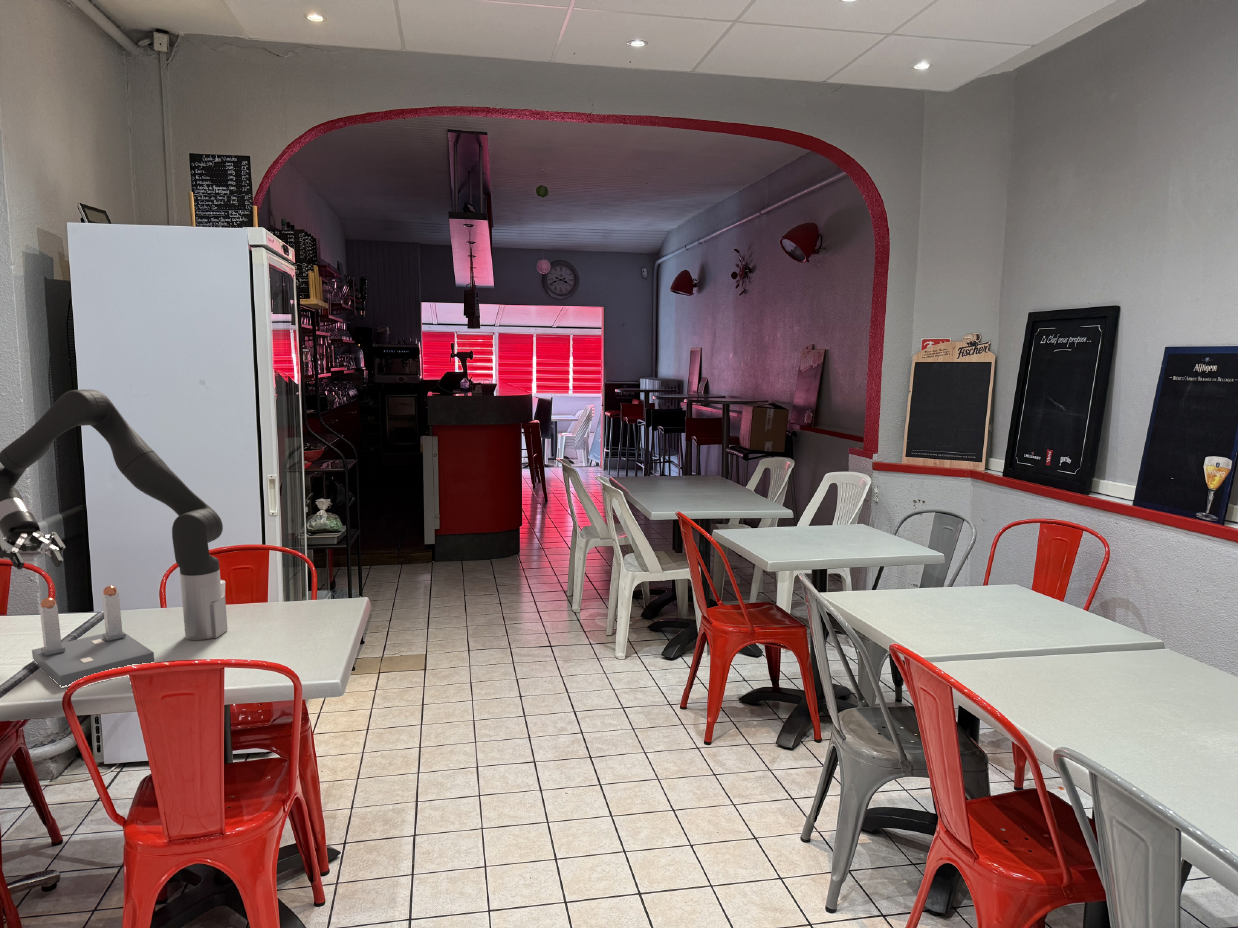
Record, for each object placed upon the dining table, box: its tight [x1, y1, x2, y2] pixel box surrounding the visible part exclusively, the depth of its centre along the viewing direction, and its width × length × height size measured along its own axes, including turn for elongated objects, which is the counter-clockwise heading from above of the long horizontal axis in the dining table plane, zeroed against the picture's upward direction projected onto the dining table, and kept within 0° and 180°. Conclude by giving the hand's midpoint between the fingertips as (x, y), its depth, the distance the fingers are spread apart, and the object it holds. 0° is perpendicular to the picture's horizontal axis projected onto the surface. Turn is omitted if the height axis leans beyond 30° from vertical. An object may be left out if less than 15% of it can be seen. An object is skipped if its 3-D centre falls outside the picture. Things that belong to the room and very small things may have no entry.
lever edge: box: [39, 597, 65, 656], centre depth 194 cm, size 4×4×13 cm
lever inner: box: [101, 585, 127, 641], centre depth 204 cm, size 4×4×13 cm
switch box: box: [31, 632, 155, 687], centre depth 196 cm, size 24×19×3 cm
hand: (40, 565), depth 201 cm, fingers open, 8 cm apart
